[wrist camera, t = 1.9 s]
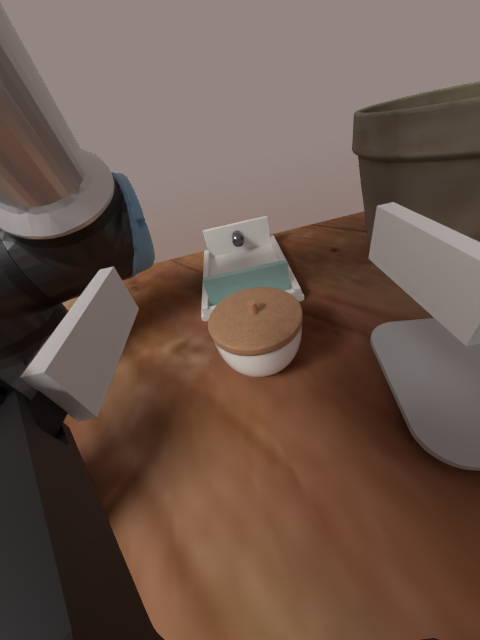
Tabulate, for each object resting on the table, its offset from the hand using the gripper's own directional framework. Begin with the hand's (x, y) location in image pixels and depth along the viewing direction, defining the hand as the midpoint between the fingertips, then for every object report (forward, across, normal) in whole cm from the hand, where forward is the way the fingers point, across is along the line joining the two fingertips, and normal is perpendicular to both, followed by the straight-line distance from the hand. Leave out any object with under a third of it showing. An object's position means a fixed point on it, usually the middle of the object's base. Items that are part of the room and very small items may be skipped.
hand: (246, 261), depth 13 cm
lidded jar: (+10, 0, -19) cm, 22 cm away
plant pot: (+28, +31, -19) cm, 46 cm away
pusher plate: (+22, 0, -18) cm, 29 cm away
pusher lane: (+31, 0, -19) cm, 36 cm away
